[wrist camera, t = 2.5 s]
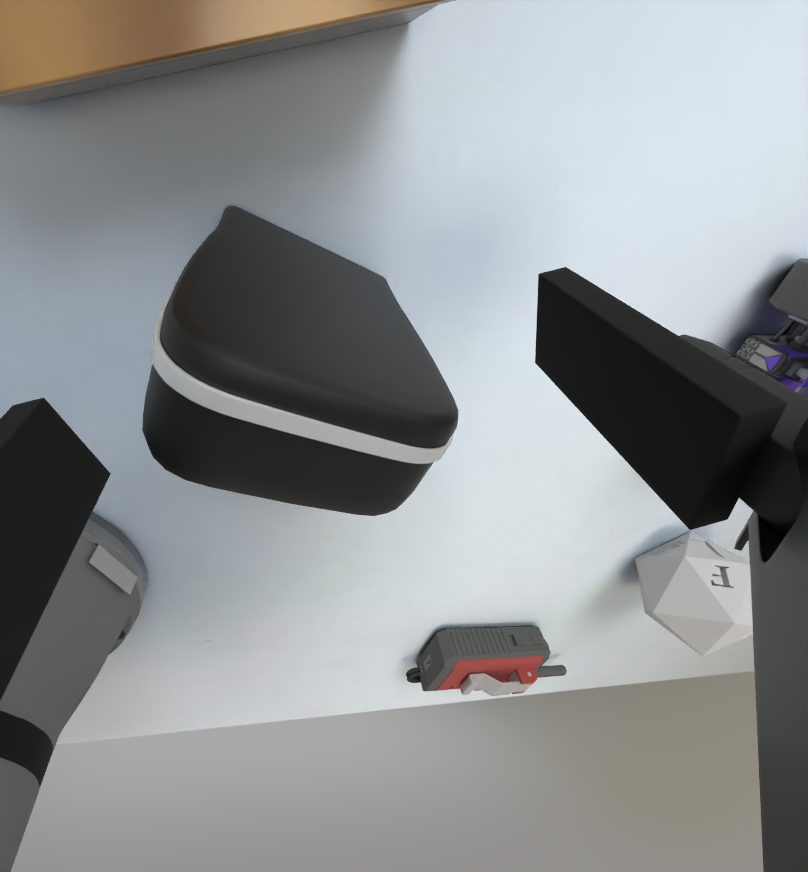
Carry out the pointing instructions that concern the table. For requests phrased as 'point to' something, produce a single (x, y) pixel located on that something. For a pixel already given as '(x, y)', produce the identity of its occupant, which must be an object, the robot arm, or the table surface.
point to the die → (697, 592)
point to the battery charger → (292, 376)
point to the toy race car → (795, 351)
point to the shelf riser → (164, 37)
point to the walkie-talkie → (484, 660)
